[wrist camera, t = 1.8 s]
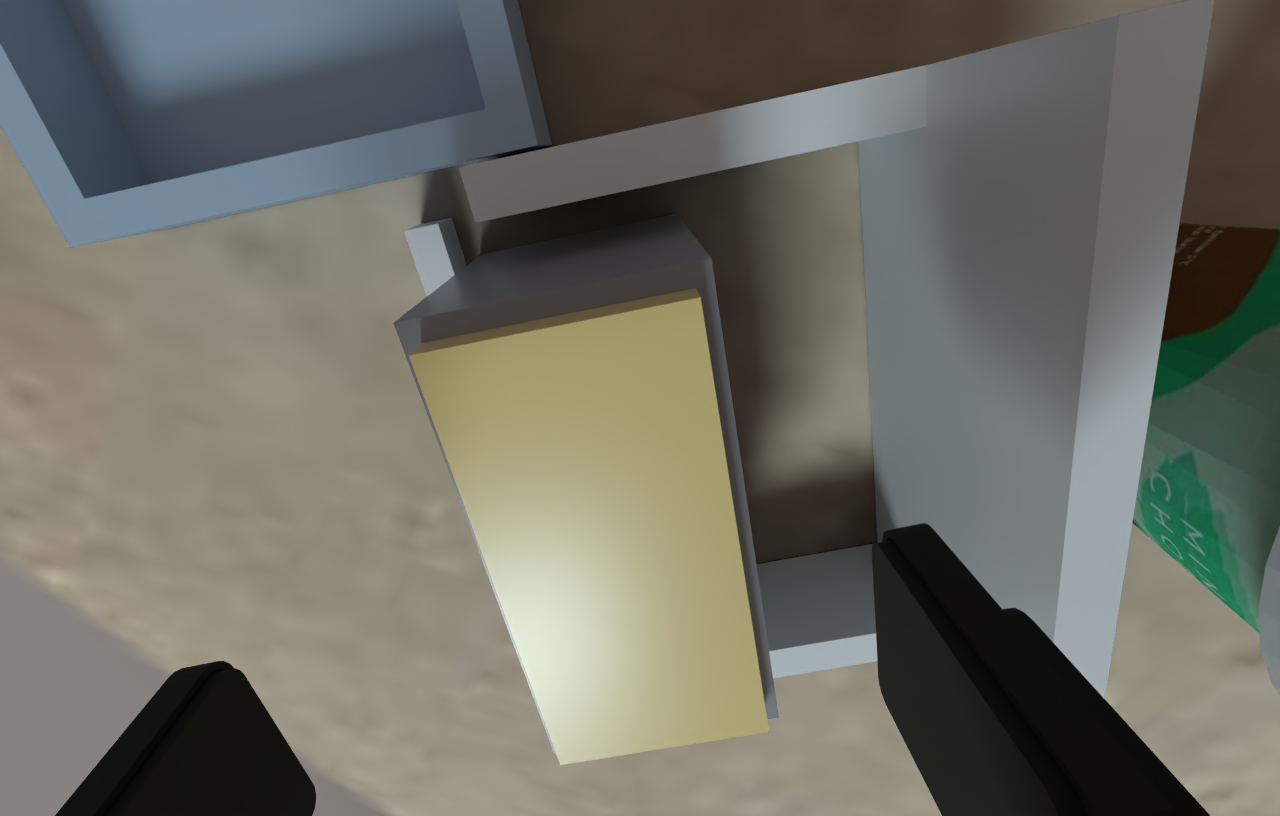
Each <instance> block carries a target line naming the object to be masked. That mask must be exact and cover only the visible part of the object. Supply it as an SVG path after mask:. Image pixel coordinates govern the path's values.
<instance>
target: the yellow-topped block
mask: <svg viewBox="0 0 1280 816" xmlns="http://www.w3.org/2000/svg"><path fill="white" fill-rule="evenodd" d="M394 325H395V328H396V331H397V333H398V336H399V339H400V341H401V344H402V347H403V349H404V352H405V355H406V357H407V360H408V363H409V365H410V368H411V371H412V374H413V376H414V379H415V382H416V384H417V387H418V390H419V392H420V395H421V398H422V400H423V403H424V406H425V408H426V411H427V414H428V416H429V419H430V422H431V424H432V427H433V430H434V433H435V435H436V438H437V441H438V443H439V446H440V449H441V451H442V454H443V457H444V459H445V462H446V465H447V467H448V470H449V473H450V475H451V478H452V481H453V483H454V486H455V489H456V491H457V494H458V497H459V500H460V502H461V505H462V508H463V510H464V513H465V516H466V518H467V521H468V524H469V526H470V529H471V532H472V534H473V537H474V540H475V542H476V545H477V548H478V550H479V553H480V556H481V559H482V561H483V564H484V567H485V569H486V572H487V575H488V577H489V580H490V583H491V585H492V588H493V591H494V593H495V596H496V599H497V601H498V604H499V607H500V609H501V612H502V615H503V617H504V620H505V623H506V626H507V628H508V631H509V634H510V636H511V639H512V642H513V644H514V647H515V650H516V652H517V655H518V658H519V660H520V663H521V666H522V668H523V671H524V674H525V676H526V679H527V682H528V685H529V687H530V690H531V693H532V695H533V698H534V701H535V703H536V706H537V709H538V711H539V714H540V717H541V719H542V722H543V725H544V727H545V730H546V733H547V735H548V738H549V741H550V743H551V746H552V749H553V752H554V754H555V753H556V754H557V757H558V760H559V762H560V765H564V764H570V763H577V762H583V761H589V760H595V759H602V758H608V757H614V756H620V755H627V754H633V753H639V752H645V751H652V750H658V749H664V748H670V747H677V746H683V745H689V744H695V743H702V742H708V741H714V740H720V739H727V738H733V737H739V736H745V735H752V734H758V733H764V732H769V727H768V721H767V719H772V718H778V717H779V716H778V709H777V702H776V695H775V689H774V682H773V675H772V668H771V661H770V654H769V648H768V641H767V634H766V627H765V620H764V613H763V607H762V600H761V593H760V586H759V579H758V572H757V566H756V559H755V552H754V545H753V538H752V532H751V525H750V518H749V511H748V504H747V497H746V491H745V484H744V477H743V470H742V463H741V456H740V450H739V443H738V436H737V429H736V422H735V415H734V409H733V402H732V395H731V388H730V381H729V375H728V368H727V361H726V354H725V347H724V340H723V334H722V327H721V320H720V313H719V306H718V299H717V293H716V286H715V279H714V272H713V265H712V258H711V257H710V256H709V254H708V253H707V252H706V251H705V249H704V248H703V247H702V245H701V244H700V243H699V242H698V240H697V239H696V238H695V236H694V235H693V234H692V233H691V231H690V230H689V229H688V227H687V226H686V225H685V224H684V222H683V221H682V220H681V218H680V217H679V216H678V214H673V215H668V216H663V217H659V218H654V219H649V220H644V221H639V222H635V223H630V224H625V225H620V226H615V227H611V228H606V229H601V230H596V231H591V232H586V233H582V234H577V235H572V236H567V237H562V238H558V239H553V240H548V241H543V242H538V243H534V244H529V245H524V246H519V247H514V248H509V249H505V250H500V251H495V252H490V253H485V254H481V255H479V256H478V257H477V258H476V259H474V260H473V261H472V262H470V263H469V264H468V265H467V266H465V267H464V268H463V269H462V270H460V271H459V272H458V273H456V274H455V275H454V276H453V277H451V278H450V279H449V280H448V281H446V282H445V283H444V284H442V285H441V286H440V287H439V288H437V289H436V290H435V291H434V292H432V293H431V294H430V295H428V296H427V297H426V298H425V299H423V300H422V301H421V302H420V303H418V304H417V305H416V306H414V307H413V308H412V309H411V310H409V311H408V312H407V313H406V314H404V315H403V316H402V317H400V318H399V319H398V320H397V321H395V322H394Z"/></svg>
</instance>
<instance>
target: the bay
mask: <svg viewBox="0 0 1280 816" xmlns="http://www.w3.org/2000/svg"><path fill="white" fill-rule="evenodd" d="M1214 1H1215V0H1187V1H1183V2H1178V3H1173V4H1169V5H1164V6H1160V7H1155V8H1151V9H1146V10H1141V11H1137V12H1132V13H1128V14H1123V15H1119V16H1115V17H1111V18H1107V19H1103V20H1099V21H1095V22H1092V23H1088V24H1084V25H1080V26H1076V27H1072V28H1068V29H1064V30H1061V31H1057V32H1053V33H1049V34H1045V35H1041V36H1037V37H1033V38H1030V39H1026V40H1022V41H1018V42H1014V43H1010V44H1006V45H1002V46H999V47H995V48H991V49H987V50H983V51H979V52H975V53H971V54H967V55H964V56H960V57H956V58H952V59H948V60H944V61H940V62H936V63H933V64H929V65H925V66H920V67H915V68H911V69H906V70H902V71H897V72H893V73H888V74H883V75H879V76H874V77H870V78H865V79H861V80H856V81H851V82H847V83H842V84H838V85H833V86H829V87H824V88H819V89H815V90H810V91H806V92H801V93H797V94H792V95H787V96H783V97H778V98H774V99H769V100H764V101H760V102H755V103H751V104H746V105H742V106H737V107H732V108H728V109H723V110H719V111H714V112H710V113H705V114H700V115H696V116H691V117H687V118H682V119H678V120H673V121H668V122H664V123H659V124H655V125H650V126H646V127H641V128H636V129H632V130H627V131H623V132H618V133H614V134H609V135H604V136H600V137H595V138H591V139H586V140H582V141H577V142H572V143H568V144H563V145H559V146H554V147H549V148H545V149H540V150H536V151H531V152H527V153H522V154H517V155H513V156H508V157H504V158H499V159H495V160H490V161H485V162H481V163H476V164H472V165H467V166H463V167H459V170H460V174H461V177H462V180H463V184H464V187H465V190H466V194H467V197H468V201H469V204H470V207H471V211H472V214H473V217H474V221H475V223H478V222H482V221H487V220H492V219H496V218H501V217H506V216H511V215H515V214H520V213H525V212H529V211H534V210H539V209H543V208H548V207H553V206H557V205H562V204H567V203H572V202H576V201H581V200H586V199H590V198H595V197H600V196H604V195H609V194H614V193H618V192H623V191H628V190H633V189H637V188H642V187H647V186H651V185H656V184H661V183H665V182H670V181H675V180H679V179H684V178H689V177H693V176H698V175H703V174H708V173H712V172H717V171H722V170H726V169H731V168H736V167H740V166H745V165H750V164H754V163H759V162H764V161H769V160H773V159H778V158H783V157H787V156H792V155H797V154H801V153H806V152H811V151H815V150H820V149H825V148H830V147H834V146H839V145H844V144H848V143H853V142H858V147H859V168H860V189H861V210H862V231H863V252H864V273H865V294H866V315H867V336H868V356H869V377H870V398H871V419H872V440H873V461H874V482H875V503H876V524H877V543H879V542H882V540H883V534H884V532H885V531H886V530H891V529H896V528H901V527H906V526H911V525H916V524H921V523H926V524H928V525H930V526H931V527H932V528H933V529H934V530H935V532H936V533H937V534H938V535H939V536H940V537H941V539H942V540H943V541H944V542H945V543H946V544H947V546H948V547H949V548H950V549H951V550H952V551H953V552H954V554H955V555H956V556H957V557H958V558H959V559H960V561H961V562H962V563H963V564H964V565H965V566H966V568H967V569H968V570H969V571H970V572H971V573H972V575H973V576H974V577H975V578H976V579H977V580H978V581H979V583H980V584H981V585H982V586H983V587H984V588H985V590H986V591H987V592H988V593H989V594H990V595H991V597H992V598H993V599H994V600H995V601H996V602H997V604H998V605H999V606H1000V607H1001V608H1002V609H1007V608H1017V609H1019V610H1021V611H1023V612H1024V613H1025V614H1027V615H1028V616H1029V617H1030V618H1031V619H1032V620H1033V621H1034V622H1035V623H1036V624H1037V625H1038V626H1039V627H1040V628H1041V630H1042V631H1043V632H1044V633H1045V634H1046V635H1047V636H1048V637H1049V638H1050V639H1051V641H1052V642H1053V643H1054V644H1055V645H1056V646H1057V647H1058V648H1059V649H1060V651H1061V652H1062V653H1063V654H1064V655H1065V656H1066V657H1067V658H1068V659H1069V660H1070V662H1071V663H1072V664H1073V665H1074V666H1075V667H1076V668H1077V669H1078V670H1079V671H1080V673H1081V674H1082V675H1083V676H1084V677H1085V678H1086V679H1087V680H1088V681H1089V683H1090V684H1091V685H1092V686H1093V687H1094V688H1095V689H1096V690H1097V691H1098V692H1099V694H1100V695H1101V696H1102V697H1103V698H1104V699H1105V693H1106V687H1107V680H1108V674H1109V668H1110V661H1111V655H1112V649H1113V642H1114V636H1115V630H1116V623H1117V617H1118V611H1119V604H1120V598H1121V591H1122V585H1123V579H1124V572H1125V566H1126V560H1127V553H1128V547H1129V541H1130V534H1131V528H1132V522H1133V515H1134V509H1135V503H1136V496H1137V490H1138V484H1139V477H1140V471H1141V464H1142V458H1143V452H1144V445H1145V439H1146V433H1147V426H1148V420H1149V414H1150V407H1151V401H1152V395H1153V388H1154V382H1155V376H1156V369H1157V363H1158V357H1159V350H1160V344H1161V337H1162V331H1163V325H1164V318H1165V312H1166V306H1167V299H1168V293H1169V287H1170V280H1171V274H1172V268H1173V261H1174V255H1175V249H1176V242H1177V236H1178V230H1179V223H1180V217H1181V210H1182V204H1183V198H1184V191H1185V185H1186V179H1187V172H1188V166H1189V160H1190V153H1191V147H1192V141H1193V134H1194V128H1195V122H1196V115H1197V109H1198V103H1199V96H1200V90H1201V83H1202V77H1203V71H1204V64H1205V58H1206V52H1207V45H1208V39H1209V33H1210V26H1211V20H1212V14H1213V7H1214ZM404 232H405V235H406V238H407V241H408V244H409V247H410V250H411V253H412V255H413V258H414V261H415V264H416V267H417V270H418V273H419V276H420V279H421V281H422V284H423V287H424V290H425V293H426V296H428V295H430V294H431V293H432V292H434V291H435V290H436V289H437V288H439V287H440V286H441V285H442V284H444V283H445V282H446V281H448V280H449V279H450V278H451V277H453V276H454V275H455V274H456V273H458V272H459V271H460V270H462V269H463V268H464V267H465V266H467V265H466V262H465V259H464V255H463V252H462V249H461V246H460V242H459V239H458V236H457V233H456V230H455V226H454V223H453V220H452V218H447V219H443V220H438V221H433V222H429V223H424V224H420V225H417V226H415V227H412V228H410V229H407V230H405V231H404ZM872 546H873V544H869V545H863V546H858V547H852V548H846V549H841V550H835V551H829V552H824V553H818V554H812V555H807V556H801V557H795V558H790V559H784V560H779V561H773V562H767V563H762V564H756V566H757V572H758V579H759V586H760V593H761V600H762V607H763V613H764V620H765V627H766V634H767V641H768V648H769V654H770V661H771V668H772V675H773V678H778V677H784V676H790V675H796V674H802V673H808V672H814V671H820V670H826V669H832V668H838V667H844V666H851V665H857V664H863V663H869V662H875V661H878V660H877V641H876V623H875V604H874V585H873V566H872Z"/></svg>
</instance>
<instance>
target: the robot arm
mask: <svg viewBox="0 0 1280 816" xmlns="http://www.w3.org/2000/svg"><path fill="white" fill-rule="evenodd" d="M872 566H873V585H874V604H875V623H876V641H877V660H878V678H879V684H880V688H881V692H882V695H883V698H884V701H885V703H886V705H887V707H888V709H889V711H890V713H891V715H892V717H893V719H894V721H895V723H896V725H897V727H898V729H899V731H900V733H901V735H902V737H903V739H904V741H905V743H906V745H907V747H908V749H909V751H910V753H911V755H912V757H913V759H914V761H915V763H916V765H917V767H918V769H919V771H920V773H921V775H922V777H923V779H924V781H925V783H926V785H927V787H928V789H929V790H930V792H931V794H932V796H933V798H934V800H935V802H936V804H937V806H938V808H939V810H940V812H941V814H942V816H1210V815H1209V814H1208V813H1207V812H1206V811H1205V809H1204V808H1203V807H1202V806H1201V805H1200V804H1199V803H1198V802H1197V801H1196V799H1195V798H1194V797H1193V796H1192V795H1191V794H1190V793H1189V792H1188V791H1187V790H1186V788H1185V787H1184V786H1183V785H1182V784H1181V783H1180V782H1179V781H1178V780H1177V779H1176V777H1175V776H1174V775H1173V774H1172V773H1171V772H1170V771H1169V770H1168V769H1167V767H1166V766H1165V765H1164V764H1163V763H1162V762H1161V761H1160V760H1159V759H1158V758H1157V756H1156V755H1155V754H1154V753H1153V752H1152V751H1151V750H1150V749H1149V748H1148V747H1147V745H1146V744H1145V743H1144V742H1143V741H1142V740H1141V739H1140V738H1139V737H1138V735H1137V734H1136V733H1135V732H1134V731H1133V730H1132V729H1131V728H1130V727H1129V726H1128V724H1127V723H1126V722H1125V721H1124V720H1123V719H1122V718H1121V717H1120V716H1119V715H1118V713H1117V712H1116V711H1115V710H1114V709H1113V708H1112V707H1111V706H1110V705H1109V703H1108V702H1107V701H1106V700H1105V699H1104V698H1103V697H1102V696H1101V695H1100V694H1099V692H1098V691H1097V690H1096V689H1095V688H1094V687H1093V686H1092V685H1091V684H1090V683H1089V681H1088V680H1087V679H1086V678H1085V677H1084V676H1083V675H1082V674H1081V673H1080V671H1079V670H1078V669H1077V668H1076V667H1075V666H1074V665H1073V664H1072V663H1071V662H1070V660H1069V659H1068V658H1067V657H1066V656H1065V655H1064V654H1063V653H1062V652H1061V651H1060V649H1059V648H1058V647H1057V646H1056V645H1055V644H1054V643H1053V642H1052V641H1051V639H1050V638H1049V637H1048V636H1047V635H1046V634H1045V633H1044V632H1043V631H1042V630H1041V628H1040V627H1039V626H1038V625H1037V624H1036V623H1035V622H1034V621H1033V620H1032V619H1031V618H1030V617H1029V616H1028V615H1027V614H1025V613H1024V612H1023V611H1021V610H1019V609H1017V608H1007V609H1002V608H1001V607H1000V606H999V605H998V604H997V602H996V601H995V600H994V599H993V598H992V597H991V595H990V594H989V593H988V592H987V591H986V590H985V588H984V587H983V586H982V585H981V584H980V583H979V581H978V580H977V579H976V578H975V577H974V576H973V575H972V573H971V572H970V571H969V570H968V569H967V568H966V566H965V565H964V564H963V563H962V562H961V561H960V559H959V558H958V557H957V556H956V555H955V554H954V552H953V551H952V550H951V549H950V548H949V547H948V546H947V544H946V543H945V542H944V541H943V540H942V539H941V537H940V536H939V535H938V534H937V533H936V532H935V530H934V529H933V528H932V527H931V526H930V525H928V524H926V523H921V524H916V525H911V526H906V527H901V528H896V529H891V530H886V531H885V532H884V534H883V540H882V542H879V543H875V544H873V546H872ZM315 803H316V792H315V787H314V785H313V783H312V781H311V780H310V778H309V776H308V775H307V773H306V772H305V770H304V769H303V767H302V765H301V764H300V762H299V761H298V759H297V757H296V756H295V754H294V753H293V751H292V750H291V748H290V746H289V745H288V743H287V742H286V740H285V738H284V737H283V735H282V734H281V732H280V731H279V729H278V727H277V726H276V724H275V723H274V721H273V719H272V718H271V716H270V715H269V713H268V712H267V710H266V708H265V707H264V705H263V704H262V702H261V700H260V699H259V697H258V696H257V694H256V692H255V691H254V689H253V688H252V686H251V685H250V683H249V681H248V680H247V678H246V677H245V675H244V674H243V673H242V672H241V671H240V670H238V669H234V668H233V667H232V665H231V664H229V663H227V662H225V661H217V662H212V663H207V664H202V665H197V666H192V667H186V668H182V669H180V670H178V671H176V672H174V673H173V674H172V675H171V676H170V677H169V678H168V679H167V680H166V681H165V683H164V684H163V685H162V686H161V687H160V689H159V690H158V691H157V692H156V694H155V695H154V696H153V697H152V699H151V700H150V701H149V702H148V703H147V705H146V706H145V707H144V708H143V709H142V711H141V712H140V713H139V714H138V715H137V717H136V718H135V719H134V720H133V722H132V723H131V724H130V725H129V727H128V728H127V729H126V730H125V731H124V733H123V734H122V735H121V736H120V737H119V739H118V740H117V741H116V742H115V744H114V745H113V746H112V747H111V748H110V749H109V751H108V752H107V753H106V755H105V756H104V757H103V758H102V759H101V760H100V762H99V763H98V764H97V765H96V767H95V768H94V769H93V770H92V771H91V773H90V774H89V775H88V776H87V777H86V779H85V780H84V781H83V782H82V784H81V785H80V786H79V787H78V788H77V790H76V791H75V792H74V793H73V794H72V796H71V797H70V798H69V799H68V800H67V802H66V803H65V804H64V805H63V807H62V808H61V809H60V810H59V811H58V813H57V814H56V815H55V816H312V814H313V811H314V809H315Z"/></svg>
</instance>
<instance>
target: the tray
mask: <svg viewBox="0 0 1280 816" xmlns="http://www.w3.org/2000/svg"><path fill="white" fill-rule="evenodd" d="M0 126H1V128H2V129H3V131H4V133H5V135H6V136H7V138H8V140H9V142H10V143H11V145H12V147H13V149H14V150H15V152H16V154H17V156H18V157H19V159H20V161H21V163H22V164H23V166H24V168H25V170H26V171H27V173H28V175H29V177H30V179H31V180H32V182H33V184H34V186H35V187H36V189H37V191H38V193H39V194H40V196H41V198H42V200H43V201H44V203H45V205H46V207H47V208H48V210H49V212H50V214H51V215H52V217H53V219H54V221H55V222H56V224H57V226H58V228H59V229H60V231H61V233H62V235H63V236H64V238H65V240H66V242H67V243H68V245H69V247H70V248H71V247H76V246H81V245H86V244H92V243H97V242H102V241H108V240H113V239H118V238H124V237H129V236H134V235H139V234H145V233H150V232H155V231H161V230H165V229H170V228H174V227H179V226H183V225H188V224H193V223H197V222H202V221H206V220H211V219H215V218H220V217H225V216H229V215H234V214H238V213H243V212H247V211H252V210H257V209H261V208H266V207H270V206H275V205H279V204H284V203H289V202H293V201H298V200H302V199H307V198H311V197H316V196H321V195H325V194H330V193H334V192H339V191H343V190H348V189H352V188H357V187H362V186H366V185H371V184H375V183H380V182H384V181H389V180H394V179H398V178H403V177H407V176H412V175H416V174H421V173H426V172H430V171H435V170H439V169H444V168H448V167H453V166H458V165H462V164H467V163H471V162H476V161H480V160H485V159H490V158H494V157H499V156H503V155H508V154H512V153H517V152H522V151H526V150H531V149H535V148H540V147H544V146H549V145H552V143H551V139H550V134H549V130H548V126H547V122H546V117H545V113H544V109H543V105H542V100H541V96H540V92H539V88H538V84H537V79H536V75H535V71H534V67H533V62H532V58H531V54H530V50H529V45H528V41H527V37H526V33H525V29H524V24H523V20H522V16H521V12H520V7H519V3H518V0H0Z"/></svg>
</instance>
